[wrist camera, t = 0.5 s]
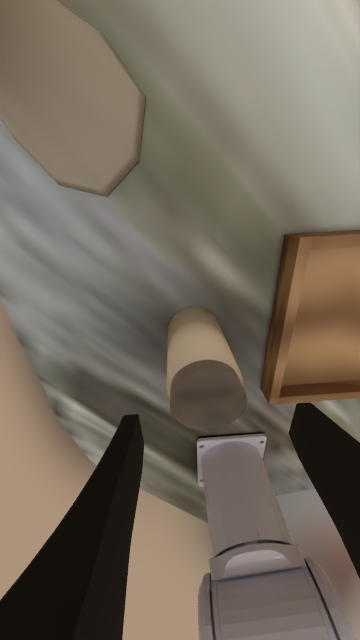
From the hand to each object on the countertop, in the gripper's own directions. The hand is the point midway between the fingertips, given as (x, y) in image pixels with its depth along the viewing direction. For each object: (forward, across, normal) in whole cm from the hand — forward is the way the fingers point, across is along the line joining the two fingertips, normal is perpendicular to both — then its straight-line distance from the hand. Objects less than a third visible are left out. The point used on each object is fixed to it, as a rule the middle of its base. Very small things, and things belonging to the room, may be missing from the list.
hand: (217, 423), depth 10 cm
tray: (+9, -14, 0) cm, 17 cm away
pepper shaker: (+9, 0, 0) cm, 9 cm away
